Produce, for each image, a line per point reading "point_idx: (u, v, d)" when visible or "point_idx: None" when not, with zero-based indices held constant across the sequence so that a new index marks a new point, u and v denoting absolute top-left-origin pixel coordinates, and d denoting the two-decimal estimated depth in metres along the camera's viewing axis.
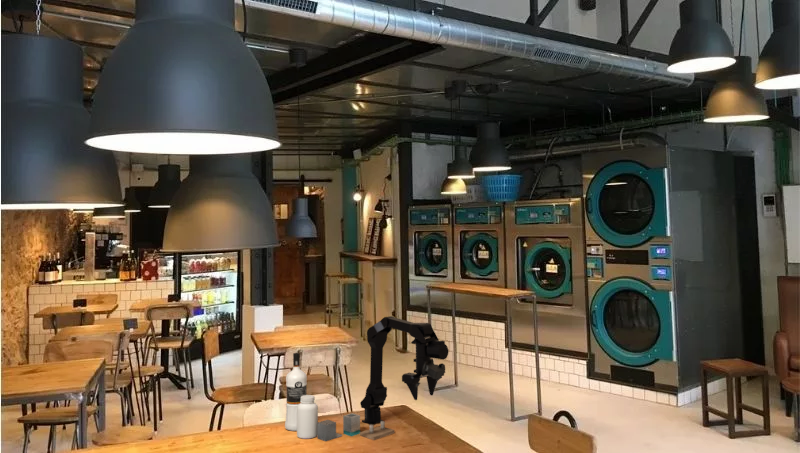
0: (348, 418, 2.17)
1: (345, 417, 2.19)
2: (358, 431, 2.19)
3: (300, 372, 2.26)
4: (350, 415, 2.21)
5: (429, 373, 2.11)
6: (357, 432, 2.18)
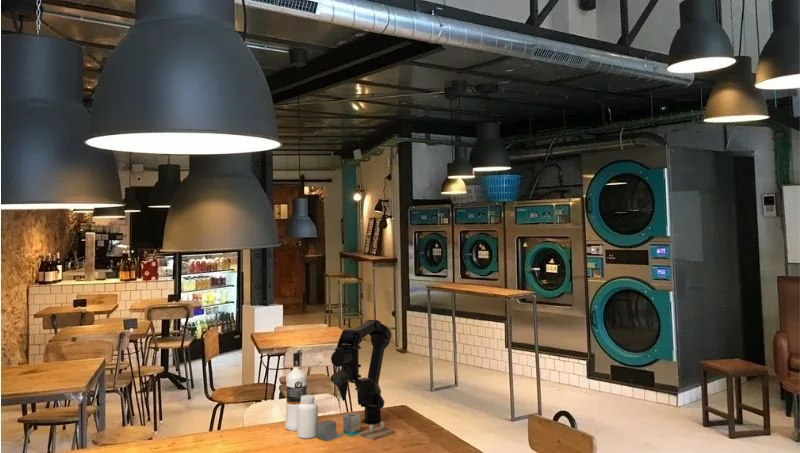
0: (348, 418, 2.17)
1: (345, 417, 2.19)
2: (358, 431, 2.19)
3: (300, 372, 2.26)
4: (350, 415, 2.21)
5: None
6: (357, 432, 2.18)
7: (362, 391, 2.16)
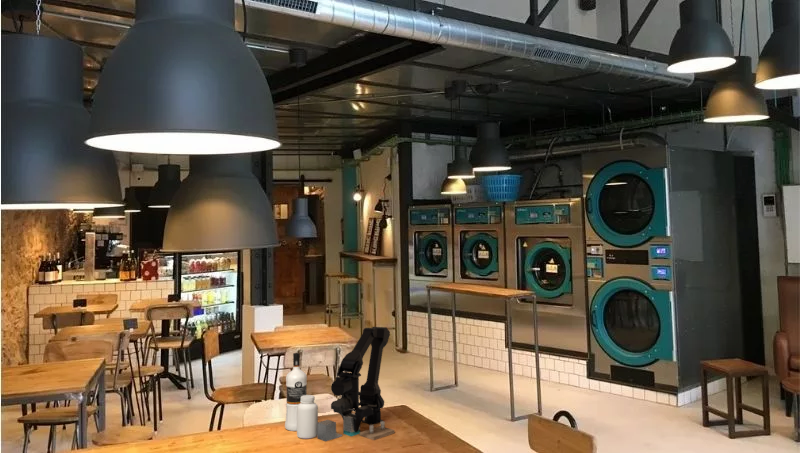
0: (348, 418, 2.17)
1: (345, 417, 2.19)
2: (358, 431, 2.19)
3: (300, 372, 2.26)
4: (350, 415, 2.21)
5: None
6: (357, 432, 2.18)
7: (358, 418, 2.17)
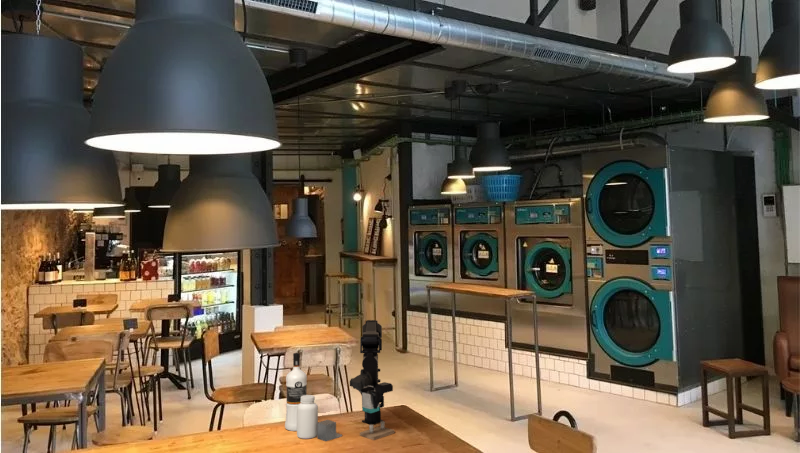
0: (367, 395, 2.15)
1: (364, 394, 2.16)
2: (377, 408, 2.16)
3: (300, 372, 2.26)
4: (369, 392, 2.18)
5: None
6: (376, 409, 2.16)
7: (378, 395, 2.15)
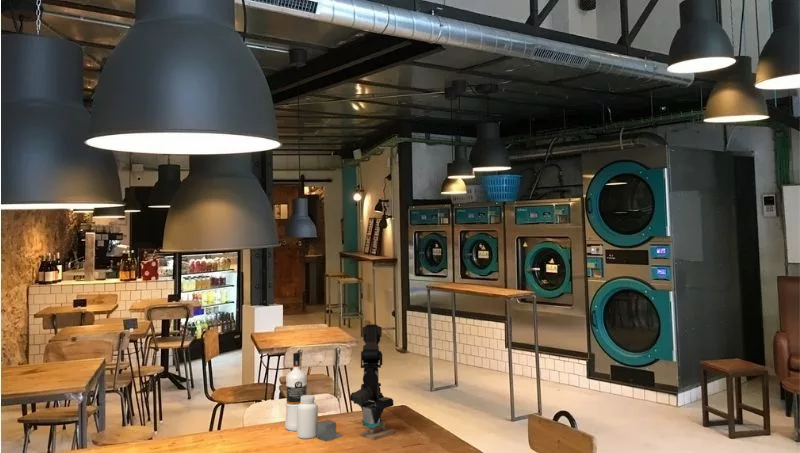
0: (368, 409, 2.14)
1: (365, 408, 2.15)
2: (378, 423, 2.16)
3: (300, 372, 2.26)
4: (369, 407, 2.18)
5: None
6: (377, 424, 2.15)
7: (378, 410, 2.14)
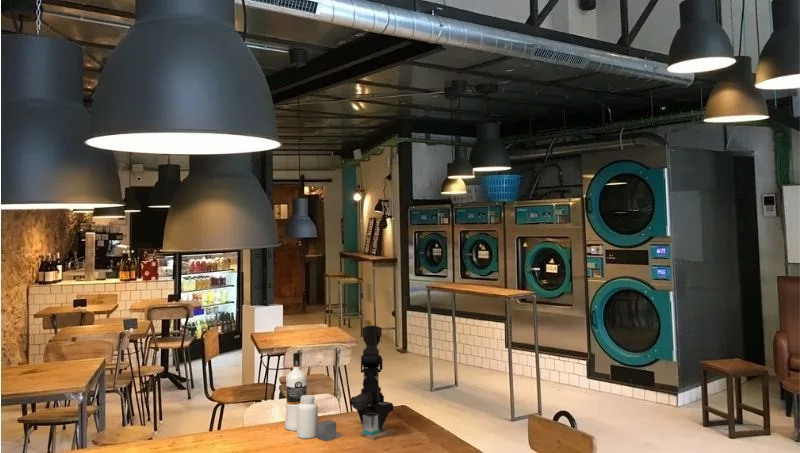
0: (368, 417, 2.14)
1: (365, 416, 2.15)
2: (378, 430, 2.16)
3: (300, 372, 2.26)
4: (369, 414, 2.18)
5: None
6: (377, 431, 2.15)
7: (382, 415, 2.13)
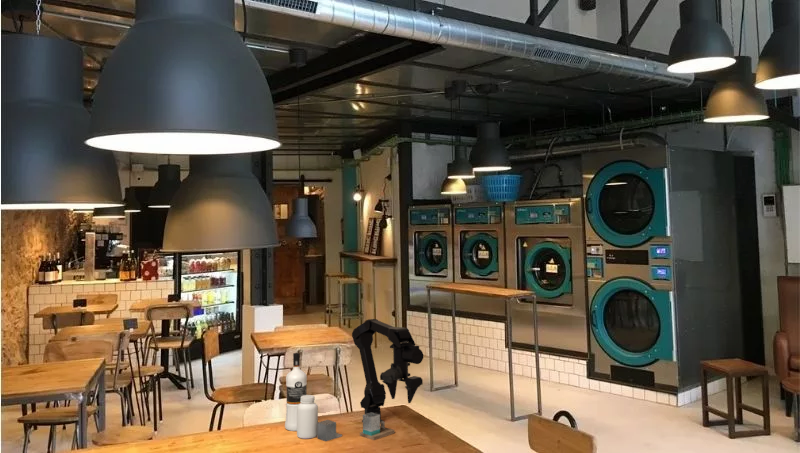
0: (368, 417, 2.14)
1: (365, 416, 2.15)
2: (378, 430, 2.16)
3: (300, 372, 2.26)
4: (369, 414, 2.18)
5: None
6: (377, 431, 2.15)
7: (412, 389, 2.17)
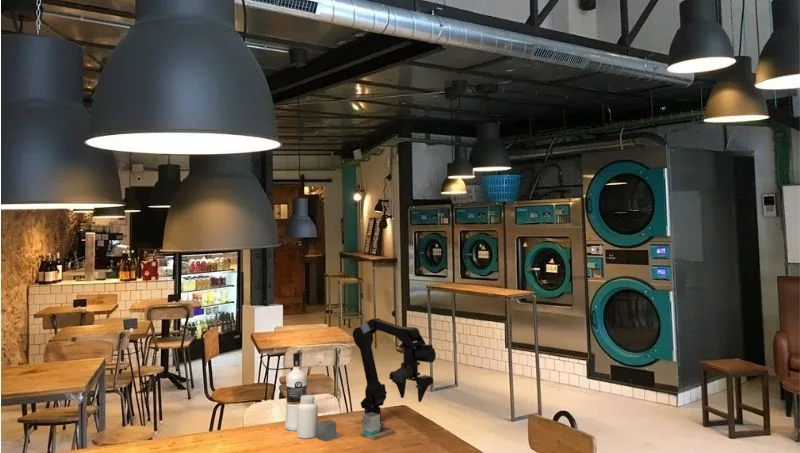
0: (368, 417, 2.14)
1: (365, 416, 2.15)
2: (378, 430, 2.16)
3: (300, 372, 2.26)
4: (369, 414, 2.18)
5: None
6: (377, 431, 2.15)
7: (422, 388, 2.19)
